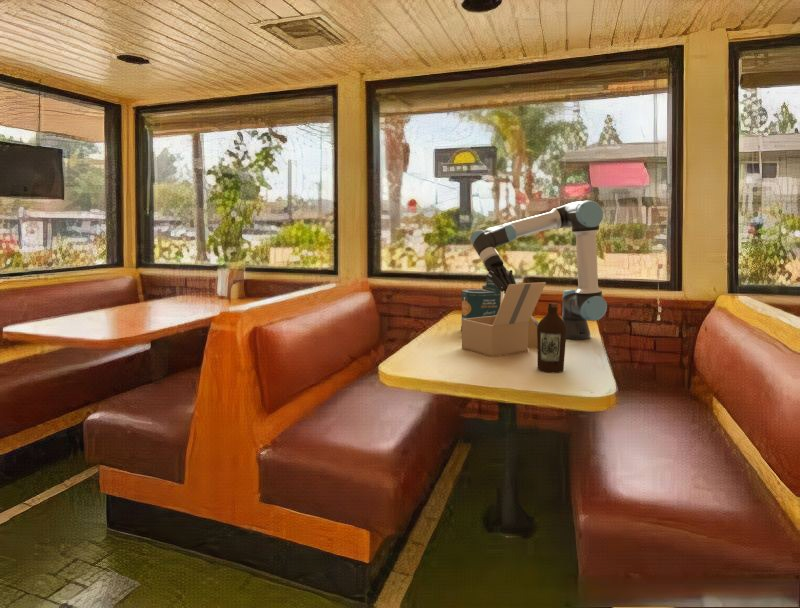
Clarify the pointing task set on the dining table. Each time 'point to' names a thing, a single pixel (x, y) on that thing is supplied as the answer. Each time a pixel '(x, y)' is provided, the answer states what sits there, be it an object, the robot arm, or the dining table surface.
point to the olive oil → (551, 341)
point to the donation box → (480, 301)
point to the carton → (494, 336)
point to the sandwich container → (532, 332)
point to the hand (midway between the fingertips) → (517, 303)
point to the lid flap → (519, 303)
